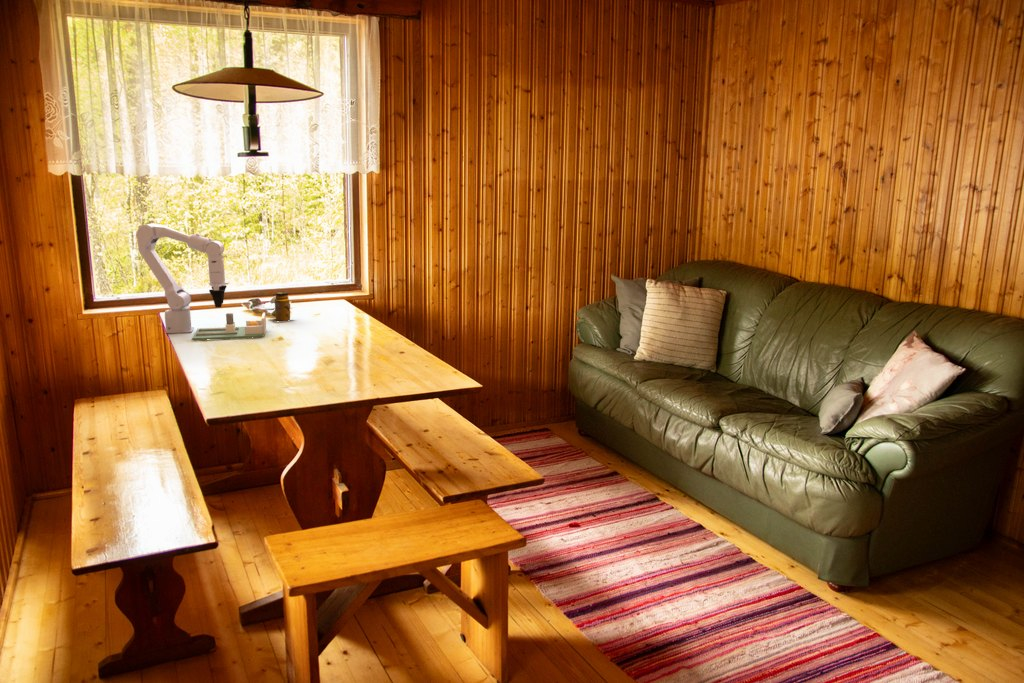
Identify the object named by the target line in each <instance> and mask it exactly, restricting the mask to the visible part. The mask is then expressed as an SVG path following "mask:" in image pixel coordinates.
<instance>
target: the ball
mask: <svg viewBox="0 0 1024 683" xmlns="http://www.w3.org/2000/svg"><path fill="white" fill-rule="evenodd" d="M250 321H251V322H250V323H249V324H248V326H259V324H258V323H257V322H256V321H252V320H250Z"/></svg>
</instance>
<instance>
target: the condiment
mask: <svg viewBox="0 0 1024 683" xmlns="http://www.w3.org/2000/svg"><path fill="white" fill-rule="evenodd" d="M274 295H275V299H274V312H275V313H274V314H275V318H272V319H271V318H270V319H268V321H269V320H270V321H269V322H272V321H275V322H274V323H278V322H277V321H286V322H289V321H288V320H290V319H291V309H290V308H291V307H290V299H289V293H288V292H287V291H278V292H276V293H274Z"/></svg>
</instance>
